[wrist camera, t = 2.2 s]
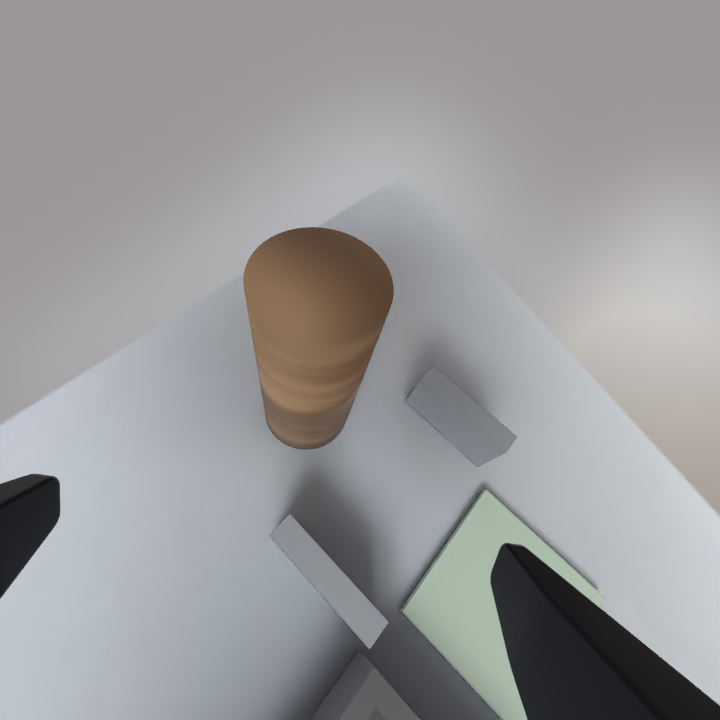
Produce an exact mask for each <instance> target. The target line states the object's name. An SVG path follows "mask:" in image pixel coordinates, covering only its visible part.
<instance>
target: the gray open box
mask: <svg viewBox="0 0 720 720" xmlns="http://www.w3.org/2000/svg"><path fill="white" fill-rule="evenodd" d="M310 720H421V719H420V718H419V717H418V716H417V715H416V713H415V712H414V711H413V710H412V709H411V708H410V706H409V705H408V704H407V703H406V702H405V701H404V700H403V698H402V697H401V696H400V695H399V694H398V693H397V692H396V690H395V689H394V688H393V687H392V686H391V685H390V684H389V682H388V681H387V680H386V679H385V678H384V677H383V676H382V674H381V673H380V672H379V671H378V670H377V669H376V668H375V666H374V665H373V664H372V663H371V662H370V661H369V660H368V658H367V657H366V656H365V655H364V654H363V653H362V652H361V650H360V649H359V651H358V652H357V653H356V655H355V656H354V658H353V659H352V660H351V662H350V663H349V665H348V666H347V668H346V669H345V670H344V672H343V673H342V675H341V676H340V677H339V679H338V680H337V682H336V683H335V685H334V686H333V687H332V689H331V690H330V692H329V693H328V694H327V696H326V697H325V699H324V700H323V702H322V703H321V704H320V706H319V707H318V709H317V710H316V711H315V713H314V714H313V716H312V717H311V718H310Z"/></svg>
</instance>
